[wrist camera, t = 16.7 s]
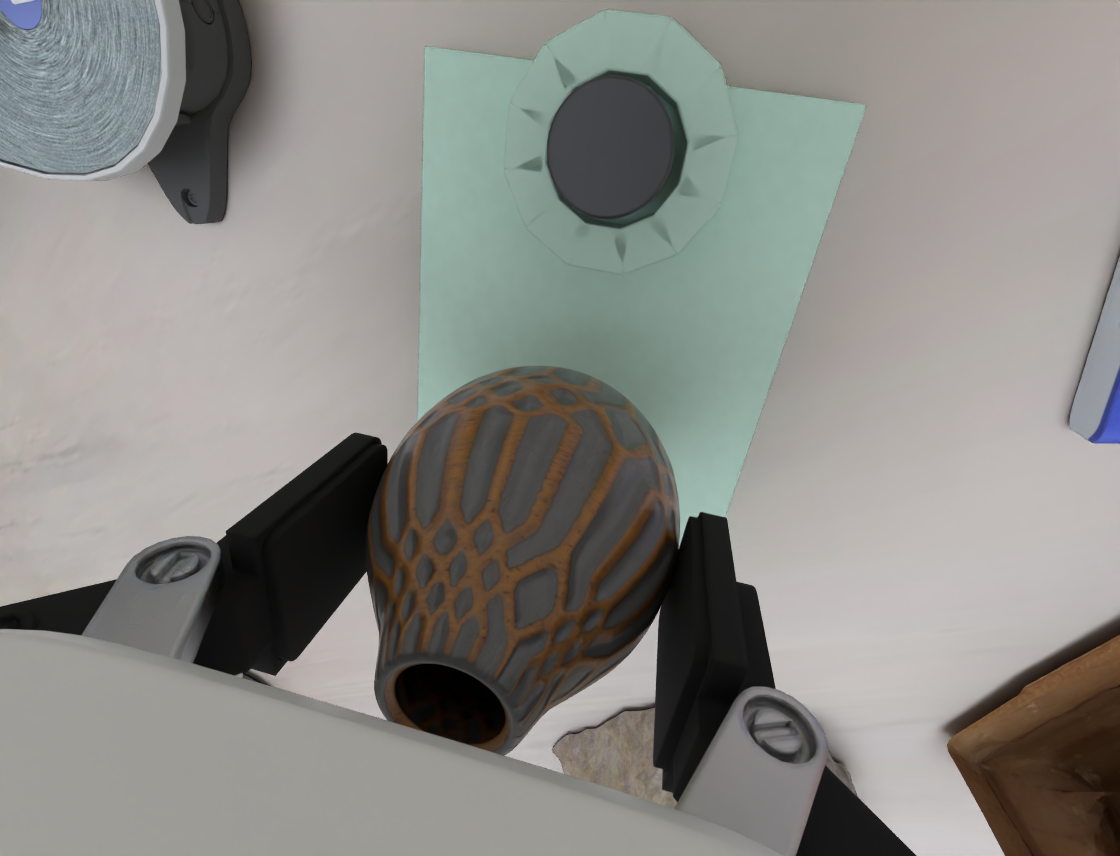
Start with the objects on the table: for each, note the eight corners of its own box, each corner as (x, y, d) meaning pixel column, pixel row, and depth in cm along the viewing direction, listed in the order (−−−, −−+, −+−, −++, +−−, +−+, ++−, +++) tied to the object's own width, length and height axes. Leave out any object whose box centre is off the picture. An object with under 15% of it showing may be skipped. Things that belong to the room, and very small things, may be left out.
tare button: (569, 79, 13) (554, 65, 12) (686, 95, 13) (688, 83, 11) (553, 206, 15) (538, 209, 13) (659, 223, 14) (657, 228, 13)
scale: (444, 17, 16) (396, -17, 13) (864, 70, 14) (908, 43, 11) (429, 492, 23) (397, 532, 20) (702, 557, 22) (705, 609, 19)
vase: (493, 554, 18) (350, 841, 10) (418, 364, 15) (153, 549, 8) (699, 531, 16) (720, 866, 8) (651, 309, 13) (616, 483, 6)
